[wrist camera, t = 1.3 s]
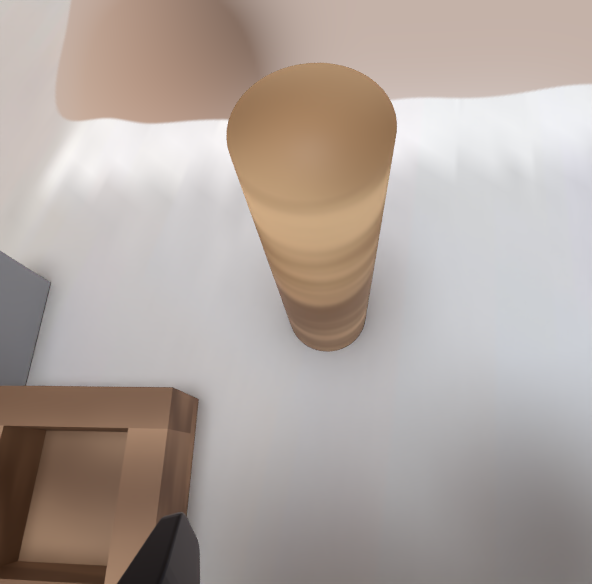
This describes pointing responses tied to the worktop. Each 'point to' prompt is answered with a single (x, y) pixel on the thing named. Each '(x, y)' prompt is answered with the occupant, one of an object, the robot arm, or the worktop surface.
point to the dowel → (316, 190)
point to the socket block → (88, 477)
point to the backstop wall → (19, 318)
